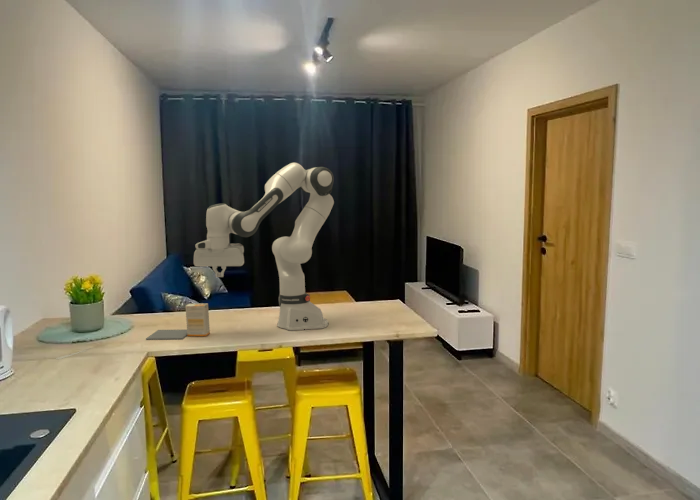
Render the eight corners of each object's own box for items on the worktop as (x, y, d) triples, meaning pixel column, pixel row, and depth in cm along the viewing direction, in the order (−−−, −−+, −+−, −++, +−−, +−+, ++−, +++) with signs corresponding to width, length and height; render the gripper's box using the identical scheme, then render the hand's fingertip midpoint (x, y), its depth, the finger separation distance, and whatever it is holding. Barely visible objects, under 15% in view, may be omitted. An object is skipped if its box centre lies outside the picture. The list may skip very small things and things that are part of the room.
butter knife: (53, 358, 188) (58, 359, 186) (112, 341, 208) (117, 342, 207) (53, 359, 188) (58, 360, 186) (112, 342, 208) (117, 343, 207)
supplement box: (210, 333, 217) (208, 303, 216) (206, 336, 213) (204, 305, 211) (191, 333, 218) (189, 302, 217) (186, 336, 213) (185, 305, 212)
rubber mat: (192, 330, 222) (192, 329, 222) (182, 339, 209) (182, 338, 209) (158, 331, 222) (158, 329, 222) (145, 339, 209) (145, 338, 209)
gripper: (245, 242, 214) (246, 275, 215) (196, 243, 214) (197, 275, 216) (241, 244, 207) (243, 277, 209) (191, 244, 208) (193, 278, 209)
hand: (219, 276), depth 212 cm, fingers closed
